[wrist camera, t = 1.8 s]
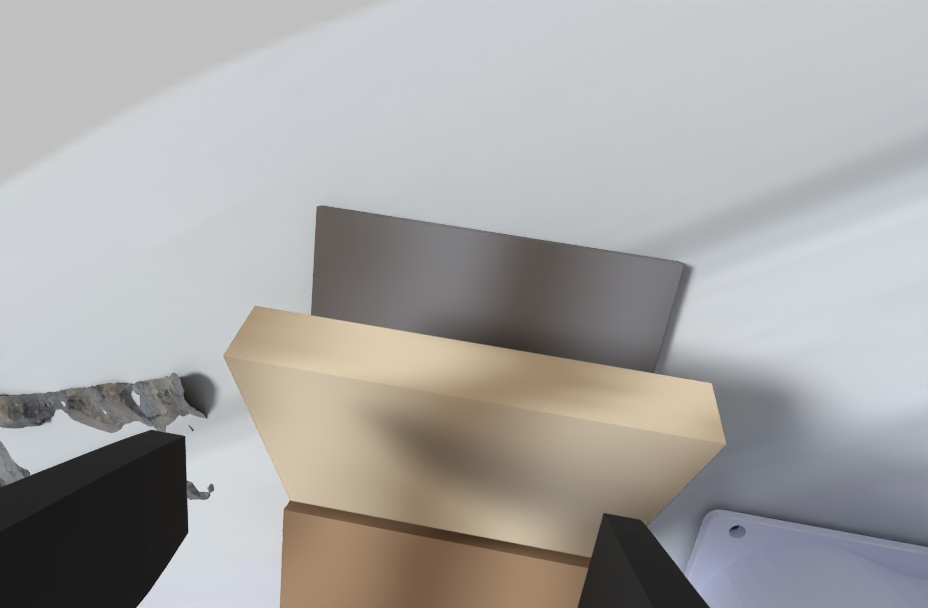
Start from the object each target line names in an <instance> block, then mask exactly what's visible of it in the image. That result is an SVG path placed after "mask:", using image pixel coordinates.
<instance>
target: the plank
mask: <svg viewBox="0 0 928 608" xmlns="http://www.w3.org/2000/svg"><path fill="white" fill-rule="evenodd" d="M223 356H224V358H225V361H226V363H227V365H228V367H229V369H230V371H231V374H232V376H233V378H234V380H235V382H236V384H237V387H238V389H239V391H240V393H241V395H242V397H243V400H244V402H245V404H246V406H247V408H248V410H249V413H250V415H251V417H252V419H253V421H254V423H255V426H256V428H257V430H258V432H259V434H260V436H261V439H262V441H263V443H264V445H265V447H266V449H267V452H268V454H269V456H270V458H271V460H272V462H273V465H274V467H275V469H276V471H277V473H278V475H279V478H280V480H281V482H282V484H283V486H284V488H285V491H286V493H287V495H288V497H289V499H290V501H296V502H301V503H306V504H312V505H317V506H322V507H327V508H333V509H338V510H343V511H348V512H354V513H359V514H364V515H369V516H375V517H380V518H385V519H390V520H396V521H401V522H406V523H411V524H417V525H422V526H427V527H432V528H438V529H443V530H448V531H453V532H459V533H464V534H469V535H475V536H480V537H485V538H490V539H496V540H501V541H506V542H511V543H517V544H522V545H527V546H532V547H538V548H543V549H548V550H553V551H559V552H564V553H569V554H574V555H580V556H585V557H590V558H591V557H592V553H593V549H594V546H595V542H596V539H597V535H598V531H599V528H600V524H601V520H602V517H603V513H607V514H613V515H618V516H623V517H629V518H634V519H640V520H641V521H642V522H643V523H644V524H645V525H646V527H647V525H648V524H649V523H650V522H651V521H652V520H653V519H654V518H655V517H656V516H657V515H658V514H659V513H660V512H661V511H662V510H663V509H664V508H665V507H666V506H667V505H668V504H669V503H670V502H671V501H672V500H673V499H674V498H675V497H676V496H677V495H678V494H679V493H680V492H681V490H682V489H683V488H684V487H685V486H686V485H687V484H688V483H689V482H690V481H691V480H692V479H693V478H694V477H695V476H696V475H697V474H698V473H699V472H700V471H701V470H702V469H703V468H704V467H705V466H706V465H707V464H708V463H709V462H710V461H711V460H712V459H713V458H714V457H715V455H716V454H717V453H718V452H719V451H720V450H721V449H722V448H723V447H724V446H725V445H726V440H725V436H724V432H723V427H722V423H721V419H720V415H719V411H718V407H717V403H716V398H715V394H714V390H713V386H712V383H707V382H701V381H696V380H690V379H684V378H678V377H672V376H666V375H660V374H654V373H648V372H642V371H637V370H631V369H625V368H619V367H613V366H607V365H601V364H595V363H589V362H583V361H577V360H572V359H566V358H560V357H554V356H548V355H542V354H536V353H530V352H524V351H518V350H513V349H507V348H501V347H495V346H489V345H483V344H477V343H471V342H465V341H459V340H453V339H448V338H442V337H436V336H430V335H424V334H418V333H412V332H406V331H400V330H394V329H389V328H383V327H377V326H371V325H365V324H359V323H353V322H347V321H341V320H335V319H329V318H324V317H318V316H312V315H306V314H300V313H294V312H288V311H282V310H276V309H270V308H265V307H259V306H255V307H254V308H253V310H252V311H251V313H250V314H249V316H248V318H247V319H246V321H245V322H244V324H243V325H242V327H241V329H240V330H239V332H238V333H237V335H236V337H235V338H234V340H233V341H232V343H231V344H230V346H229V348H228V349H227V351H226V352H225V354H224V355H223Z"/></svg>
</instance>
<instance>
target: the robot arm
mask: <svg viewBox="0 0 928 608" xmlns="http://www.w3.org/2000/svg"><path fill="white" fill-rule="evenodd" d="M736 525H740V526H739V527H738V528H737V529H735V530H730V529H731V528H732V527H733V526H736ZM187 534H188V509H187V478H186V448H185V436H182V435H176V434H171V433H166V432H160V431H155V430H150V431H147V432H144V433H140V434H137V435H134V436H131V437H129V438H126V439H123V440H120V441H118V442H115V443H112V444H110V445H107V446H104V447H102V448H99V449H97V450H94V451H92V452H89V453H86V454H84V455H81V456H79V457H76V458H74V459H71V460H69V461H66V462H64V463H61V464H59V465H56V466H54V467H51V468H48V469H46V470H43V471H41V472H38V473H36V474H33V475H31V476H28V477H26V478H23V479H20V480H18V481H15V482H13V483H10V484H8V485H5V486H3V487H0V608H136V607H137V606H138V605H139V604H140V602H141V601H142V600H143V599H144V597H145V596H146V595H147V594H148V592H149V591H150V590H151V588H152V587H153V585H154V584H155V582H156V581H157V580H158V578H159V577H160V575H161V574H162V572H163V571H164V569H165V568H166V566H167V565H168V563H169V562H170V560H171V559H172V557H173V556H174V554H175V552H176V551H177V549H178V548H179V546H180V545H181V543H182V542H183V540H184V538H185V537H186V535H187ZM578 608H928V547H924V546H919V545H913V544H908V543H902V542H897V541H891V540H886V539H880V538H875V537H870V536H864V535H859V534H853V533H848V532H842V531H837V530H831V529H826V528H820V527H815V526H809V525H804V524H798V523H793V522H787V521H782V520H776V519H771V518H765V517H760V516H754V515H749V514H743V513H738V512H733V511H727V510H713V511H710V512H709V513H708V514H706V515H705V517H704V519H703V521H702V524H701V527H700V530H699V533H698V536H697V538H696V541H695V544H694V547H693V550H692V553H691V556H690V558H689V561H688V564H687V567H686V570H685V573H684V574H683V573H682V571H681V570H680V569H679V568H678V566H677V565H676V564H675V562H674V561H673V560H672V559H671V557H670V556H669V555H668V553H667V552H666V551H665V550H664V548H663V547H662V546H661V544H660V543H659V542H658V541H657V539H656V538H655V537H654V535H653V534H652V533H651V532H650V530H649V529H648V528H647V527H646V525H645V524H644V523H643V522H642V521H641V520H640V519H634V518H629V517H623V516H618V515H613V514H607V513H603V517H602V520H601V524H600V528H599V531H598V535H597V539H596V542H595V546H594V549H593V553H592V557H591V560H590V564H589V568H588V571H587V575H586V578H585V582H584V586H583V589H582V593H581V597H580V600H579V604H578Z"/></svg>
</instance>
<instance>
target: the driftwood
mask: <svg viewBox="0 0 928 608" xmlns="http://www.w3.org/2000/svg"><path fill="white" fill-rule="evenodd" d="M133 390H134V391H135V393H136V394H138V395H140V406H138V405H136V404H135V403H134V401H133V399H132V398H131V393H132V391H133ZM183 393H184V389H183V387H182V385H181V379H179V378H178V375H177V374H175V373H172V375H171V376H170V377H168V376H166V377H165V378H161V379H154V380H147V381H144V382H136V383H135V384H133V385H131V384H126V385H125V384H124V383H115V384H112V383H108V384H102V385H97V386H91V387H88V388H85V389H84V388H78V389H71V388H70V389H67V390H64V391H62V390H61V391H59V392H54V393H50V392H47V393H44V394H36V393H34V394H29V395H27V394H22V395H11V396H0V427H3V428H24V427H26V426H40V425H41V423H44V421H43V420H44V419H51V418H52V416H54V412H55V410H58V409H62V410H63V411H65V412H66V413H67V414H68V415H69V416H70V417H71V418H72V419H73V420H75V421H78V422H80V423H82V424H85V425H88V426H91V427H94V428H96V429H99V430H102V431H106V432H109V433H113V432H117V431H118V430H120V429H122V426H123V425H124V424H127V423H131V422H133V421H140V422H142V423H144V424H145V425H147V426H153V427H155V428H156V429H157V431H160V432H165V431H166V426H167V425H169V424H170V423H171V422H173V421H174V420H175V419H176V418H177V417H178V416H179V415H181V416H186V415H188V414H192V415H194V416H198V417H202V418H206V417H205V415H204V414H202V413H201V412H199V411H197V410H195V408H194V407H191V406H189V404H188V403H187V402H186V401H185V399H184V396H183ZM60 401H64V402H65V404H66V407H63V404H62V403H61V402H60ZM103 410H104V411H106V413H107V414H104V412H103ZM189 427H190V428H191V430H192V431H194V429H192V427H191V426H190V425H189ZM28 476H30V472H29V471H28V470H26V469H23V468H21V467H19V466H18V465H17V464H16V463H15V462H14V461H13V460H12V459H11V457H10V455H9V453H8V451H7V450H6V448H5V447H4V445H3V444H2V442H1V441H0V487H3V486H5V485H8V484H10V483H13V482H15V481H18V480H20V479H23V478H26V477H28ZM208 490H209V492H199V491H198V490H197V489H196V488H195V486H194V485H193V483H192V482H189V481H187V498H189V499H190V500H192V499H202V500H205V499H208V498H209V497H210V493H211V492H212V491H214V486H213V484H210V485H209V487H208Z"/></svg>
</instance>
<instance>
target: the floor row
mask: <svg viewBox="0 0 928 608" xmlns="http://www.w3.org/2000/svg"><path fill="white" fill-rule="evenodd" d="M683 267H684V264H683V263H681V262H678V261H672V260H666V259H659V258H653V257H646V256H640V255H634V254H627V253H621V252H615V251H608V250H602V249H596V248H589V247H583V246H576V245H570V244H564V243H557V242H551V241H545V240H538V239H532V238H526V237H519V236H513V235H506V234H500V233H494V232H487V231H481V230H475V229H468V228H462V227H455V226H449V225H443V224H436V223H430V222H424V221H417V220H411V219H405V218H398V217H392V216H385V215H379V214H373V213H366V212H360V211H354V210H347V209H341V208H335V207H328V206H317V212H316V231H315V251H314V270H313V289H312V308H311V315H312V316H318V317H324V318H329V319H335V320H341V321H347V322H353V323H359V324H365V325H371V326H377V327H383V328H389V329H394V330H400V331H406V332H412V333H418V334H424V335H430V336H436V337H442V338H448V339H453V340H459V341H465V342H471V343H477V344H483V345H489V346H495V347H501V348H507V349H513V350H518V351H524V352H530V353H536V354H542V355H548V356H554V357H560V358H566V359H572V360H577V361H583V362H589V363H595V364H601V365H607V366H613V367H619V368H625V369H631V370H637V371H642V372H648V373H654V370H655V366H656V363H657V359H658V356H659V352H660V349H661V345H662V342H663V338H664V334H665V331H666V327H667V324H668V320H669V317H670V313H671V310H672V306H673V303H674V299H675V296H676V292H677V288H678V285H679V281H680V278H681V274H682V271H683ZM590 560H591V558H590V557H585V556H580V555H574V554H569V553H564V552H559V551H553V550H548V549H543V548H538V547H532V546H527V545H522V544H517V543H511V542H506V541H501V540H496V539H490V538H485V537H480V536H475V535H469V534H464V533H459V532H453V531H448V530H443V529H438V528H432V527H427V526H422V525H417V524H411V523H406V522H401V521H396V520H390V519H385V518H380V517H375V516H369V515H364V514H359V513H354V512H348V511H343V510H338V509H333V508H327V507H322V506H317V505H312V504H306V503H301V502H296V501H289V503H288V504H287V506H286V507H285V509H284V519H283V544H282V570H281V595H280V608H578V604H579V600H580V597H581V593H582V589H583V586H584V582H585V578H586V575H587V571H588V568H589V564H590Z"/></svg>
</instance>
